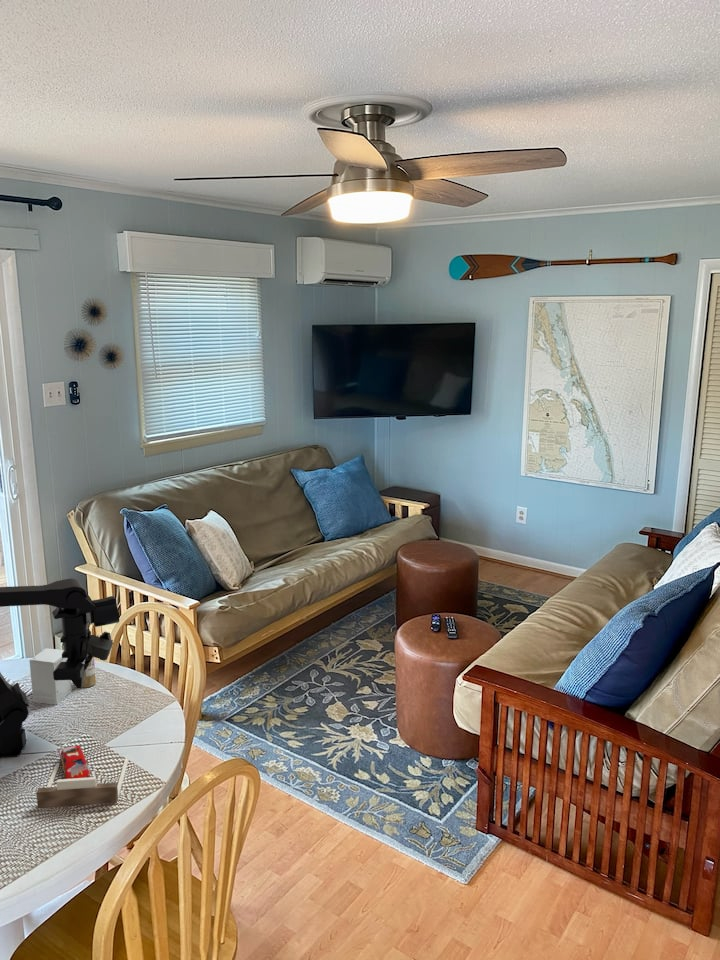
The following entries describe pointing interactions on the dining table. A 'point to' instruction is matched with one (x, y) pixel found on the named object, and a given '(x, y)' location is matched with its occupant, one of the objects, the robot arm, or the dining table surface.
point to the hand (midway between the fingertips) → (79, 687)
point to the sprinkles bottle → (89, 675)
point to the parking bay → (78, 791)
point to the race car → (74, 763)
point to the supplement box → (48, 677)
